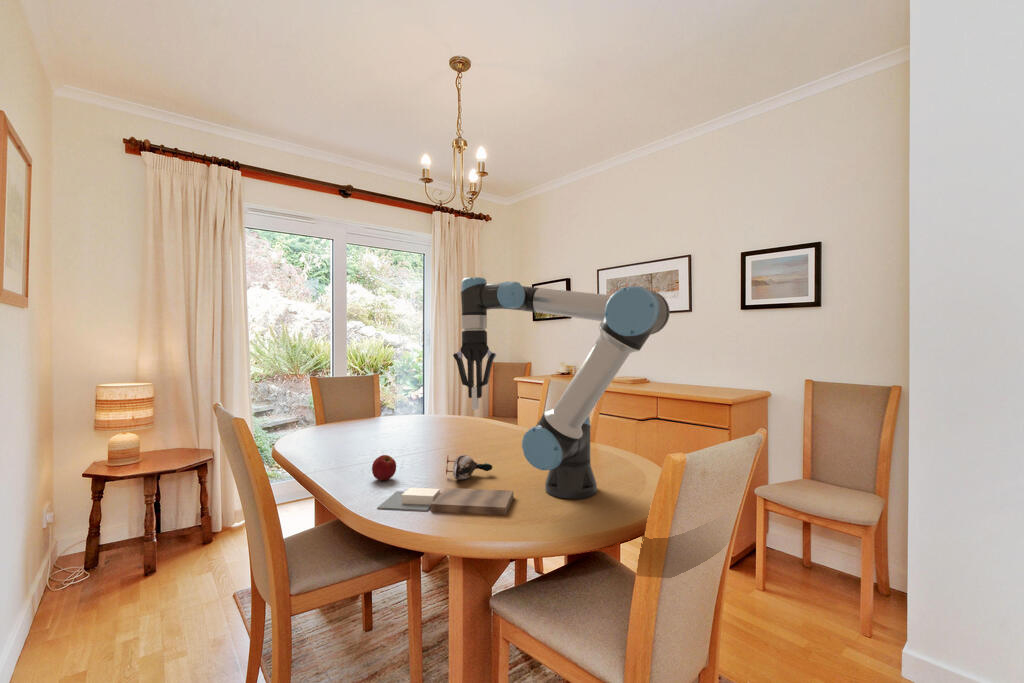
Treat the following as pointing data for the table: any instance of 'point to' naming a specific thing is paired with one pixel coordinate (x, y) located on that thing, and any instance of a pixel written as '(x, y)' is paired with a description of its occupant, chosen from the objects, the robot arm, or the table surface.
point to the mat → (396, 504)
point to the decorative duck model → (466, 467)
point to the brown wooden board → (473, 501)
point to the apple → (384, 467)
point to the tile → (420, 496)
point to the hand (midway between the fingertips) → (475, 408)
